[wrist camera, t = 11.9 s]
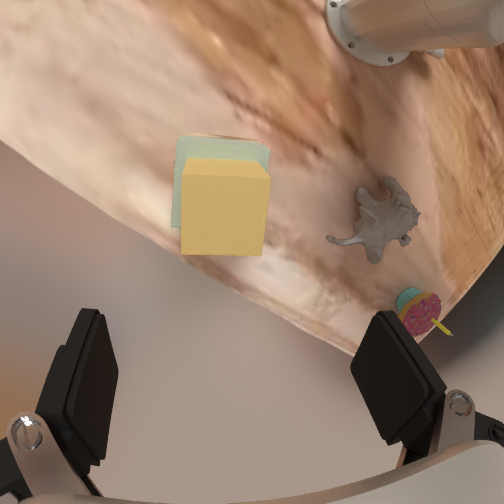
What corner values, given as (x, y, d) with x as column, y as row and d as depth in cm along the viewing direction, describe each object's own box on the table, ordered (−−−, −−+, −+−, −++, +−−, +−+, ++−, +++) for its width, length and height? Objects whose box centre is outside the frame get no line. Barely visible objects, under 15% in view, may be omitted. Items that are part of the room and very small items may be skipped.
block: (257, 161, 25) (271, 178, 20) (250, 224, 28) (261, 256, 23) (187, 157, 24) (181, 174, 19) (185, 222, 27) (181, 254, 22)
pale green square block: (262, 143, 29) (270, 150, 25) (250, 217, 32) (256, 233, 29) (181, 135, 27) (177, 140, 23) (174, 211, 31) (171, 227, 27)
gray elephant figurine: (405, 211, 39) (438, 234, 32) (342, 262, 41) (366, 294, 35) (379, 159, 35) (415, 176, 28) (308, 215, 37) (330, 243, 30)
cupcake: (417, 269, 45) (459, 313, 34) (430, 296, 48) (466, 337, 38) (379, 303, 46) (415, 352, 36) (396, 325, 50) (427, 371, 40)
